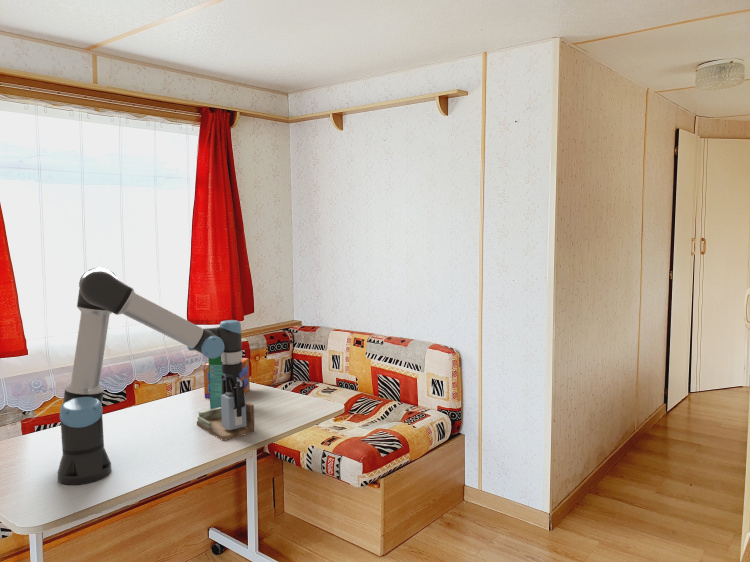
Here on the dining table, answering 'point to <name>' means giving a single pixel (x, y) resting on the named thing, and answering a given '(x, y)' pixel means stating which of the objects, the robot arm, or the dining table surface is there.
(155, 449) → the dining table surface
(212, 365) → the milk carton
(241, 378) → the game box
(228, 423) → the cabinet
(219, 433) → the brown wooden l-shaped piece
